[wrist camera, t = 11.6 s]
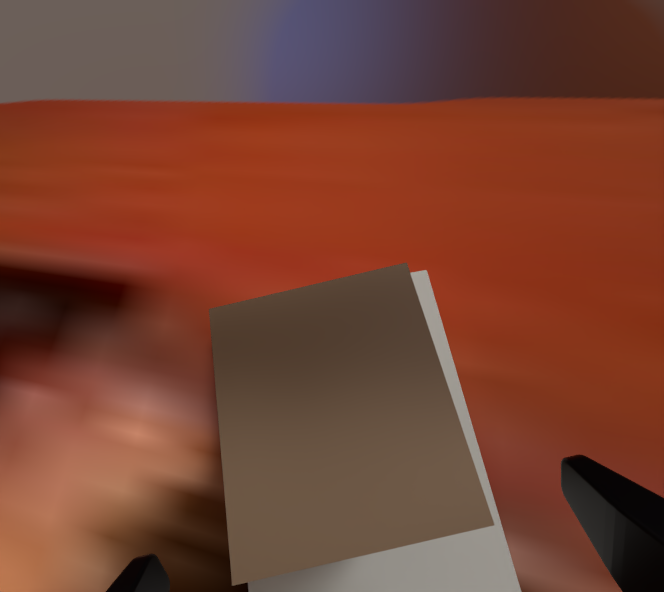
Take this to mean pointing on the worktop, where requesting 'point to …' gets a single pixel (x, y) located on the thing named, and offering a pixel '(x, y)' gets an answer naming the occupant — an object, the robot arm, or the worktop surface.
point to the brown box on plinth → (337, 427)
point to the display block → (429, 556)
